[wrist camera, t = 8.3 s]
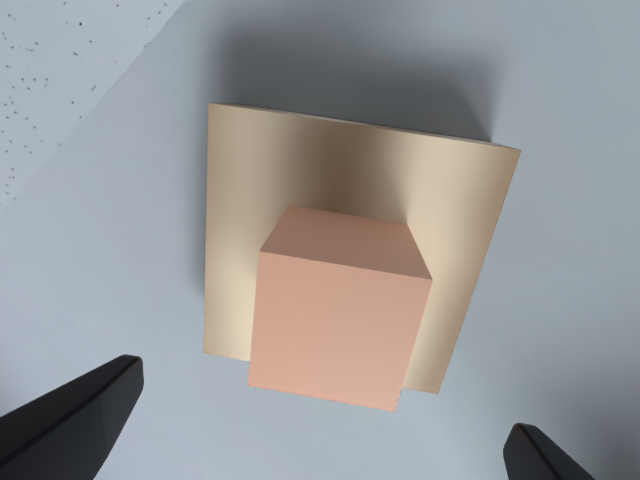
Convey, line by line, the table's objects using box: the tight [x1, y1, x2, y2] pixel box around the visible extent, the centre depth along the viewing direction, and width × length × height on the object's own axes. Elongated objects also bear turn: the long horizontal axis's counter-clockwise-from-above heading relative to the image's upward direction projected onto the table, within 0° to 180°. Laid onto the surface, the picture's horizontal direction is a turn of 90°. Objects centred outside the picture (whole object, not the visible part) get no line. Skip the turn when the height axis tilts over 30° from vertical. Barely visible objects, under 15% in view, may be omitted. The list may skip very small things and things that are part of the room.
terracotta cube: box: [248, 205, 433, 412], centre depth 13 cm, size 5×5×5 cm
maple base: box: [203, 103, 521, 394], centre depth 17 cm, size 12×12×3 cm
